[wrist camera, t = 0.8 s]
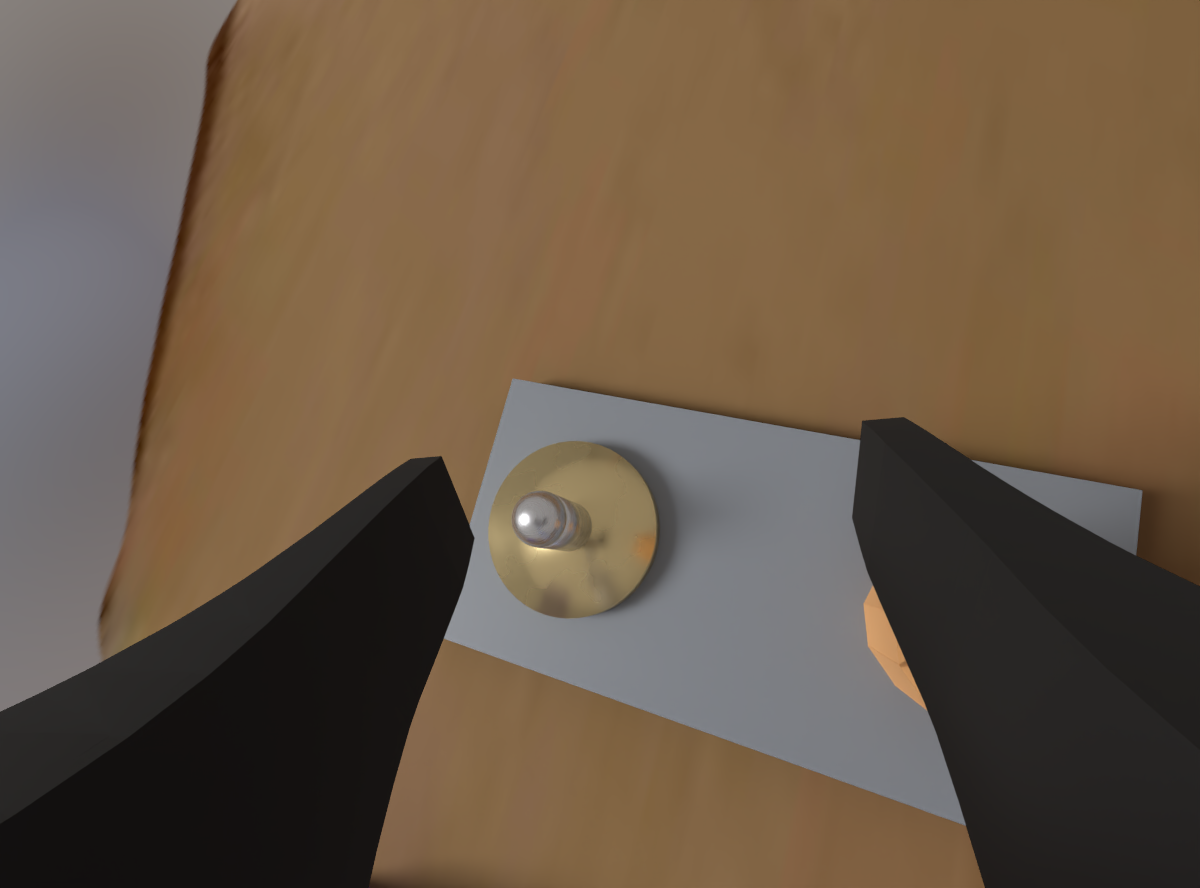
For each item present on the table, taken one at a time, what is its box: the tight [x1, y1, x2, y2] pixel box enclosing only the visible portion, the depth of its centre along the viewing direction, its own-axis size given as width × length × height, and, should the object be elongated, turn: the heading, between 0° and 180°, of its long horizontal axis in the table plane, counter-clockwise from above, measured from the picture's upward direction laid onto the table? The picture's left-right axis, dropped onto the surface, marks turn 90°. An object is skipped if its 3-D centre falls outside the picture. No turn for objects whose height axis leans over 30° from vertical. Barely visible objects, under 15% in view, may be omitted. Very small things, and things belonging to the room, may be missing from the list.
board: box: [444, 379, 1142, 825], centre depth 20 cm, size 24×12×5 cm, turn 75°
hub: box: [488, 441, 660, 619], centre depth 21 cm, size 7×7×5 cm
